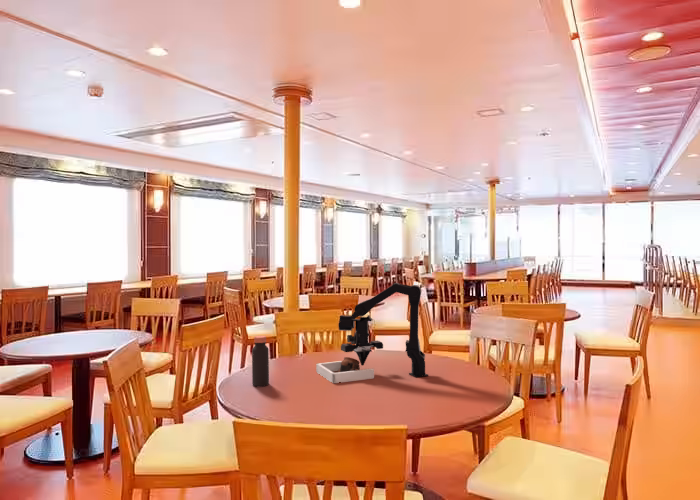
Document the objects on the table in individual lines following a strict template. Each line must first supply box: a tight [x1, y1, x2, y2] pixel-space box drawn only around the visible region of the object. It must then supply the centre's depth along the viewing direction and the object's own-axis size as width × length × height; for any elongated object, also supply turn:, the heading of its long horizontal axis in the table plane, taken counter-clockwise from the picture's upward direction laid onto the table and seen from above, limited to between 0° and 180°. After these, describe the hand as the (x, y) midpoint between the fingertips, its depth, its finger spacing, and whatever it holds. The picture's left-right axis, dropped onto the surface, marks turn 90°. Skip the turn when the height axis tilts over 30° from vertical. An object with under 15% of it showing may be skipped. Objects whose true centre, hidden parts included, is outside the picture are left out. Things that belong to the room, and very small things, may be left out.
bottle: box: [251, 335, 270, 387], centre depth 207 cm, size 7×7×20 cm
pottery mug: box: [338, 356, 361, 372], centre depth 224 cm, size 12×10×8 cm
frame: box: [315, 360, 375, 384], centre depth 221 cm, size 20×19×4 cm
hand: (362, 365), depth 225 cm, fingers closed
